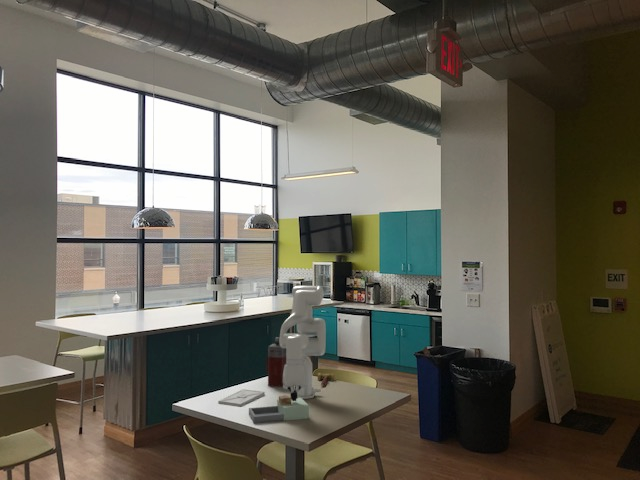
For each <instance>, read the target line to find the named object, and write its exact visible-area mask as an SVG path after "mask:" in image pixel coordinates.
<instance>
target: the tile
mask: <svg viewBox="0 0 640 480" xmlns="http://www.w3.org/2000/svg"><path fill="white" fill-rule="evenodd" d="M278 400H279V403H280V404H281V405H287V404H291V395H290V394H285V395H278Z"/></svg>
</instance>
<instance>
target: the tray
mask: <svg viewBox="0 0 640 480" xmlns="http://www.w3.org/2000/svg"><path fill="white" fill-rule="evenodd" d="M248 415H249V418H250V420H251V421H252V423H253V424H262V423H272V422H273V423H274V422H283V421H284V414H279V412H278V406H277V405H271V406H258V407H257V406H256V407H248ZM284 422H285V421H284Z"/></svg>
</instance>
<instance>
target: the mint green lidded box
mask: <svg viewBox="0 0 640 480" xmlns="http://www.w3.org/2000/svg"><path fill="white" fill-rule="evenodd" d="M276 402H277V404H276V406H278V412H279V414H284V422H286V421H294V420H296V421H297V420H305V419H307V420H308V419H309V418H310V416H309V415H310V411H309V410H310V405H309V404H308V403H307V402H306V401H305V399H302V398H297V399H296V401H292V399H291V404H287V405H281V404H280V403H279V399H277V401H276ZM285 420H286V421H285Z"/></svg>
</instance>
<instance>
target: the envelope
mask: <svg viewBox="0 0 640 480" xmlns="http://www.w3.org/2000/svg"><path fill="white" fill-rule="evenodd" d="M265 392H266V391H261V390H255V389H254V390H253V389H246V388H244V389H240V390H238V391H236V392H234V393H232V394H230V395H228V396H226V397H223V398H222V399H219V400H218V401H217V402H218V404H221V405H228V406H235V407H236V406H237V407H243V406H245V405H247V404H249V403H251V402H253V401H255V400H257V399H259V398H261V397H264V396H265Z"/></svg>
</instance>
